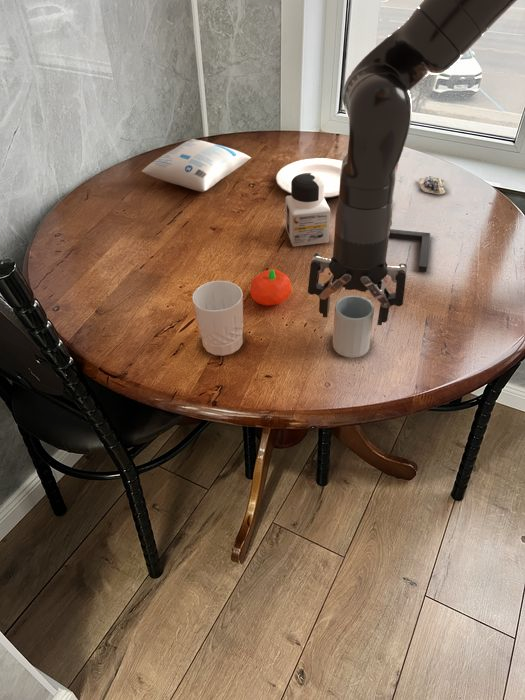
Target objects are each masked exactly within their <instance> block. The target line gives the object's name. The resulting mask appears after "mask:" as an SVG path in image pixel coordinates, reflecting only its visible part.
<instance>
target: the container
mask: <svg viewBox="0 0 525 700" xmlns="http://www.w3.org/2000/svg"><path fill="white" fill-rule="evenodd" d="M324 184H325V181H324V179H323V178H322V177H321V176H320V175H317V174H313V173H303V174H299V175H297V176H295V177H294V178H293V179H292V181H291V194H290V195H287V196H285V230H286V232H287V234H288V235H287V236H288V238H289V240H290V243H291V245H292V247H294V248H295V247H303V246H309V245H310V246H311V245H319V244H327V243H329V242H330V223H331V208H330V206H329V204H328V203H327V201H326V198H324Z"/></svg>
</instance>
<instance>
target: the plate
mask: <svg viewBox="0 0 525 700" xmlns="http://www.w3.org/2000/svg"><path fill="white" fill-rule="evenodd" d="M342 162H343V160H338V159H333V158H332V159H331V158H323V157H321V158H318V157H317V158H316V157H315V158H306V159H305V158H304V159H300V160H296V161H293V162H291V163H288V164H286V165H285V166H283V167H282V168H280V170H279V171H278V172H277V173H276V176H275V181H276V183H277V186H278V187H279V188H280V189H281V190H283V191H285V192H286V193H288V194H290V195H291V181H292V179H293V178H294V177H295V176H297V175H299V174H303V173H313V174H317V175H320V176H321V177H322V178H323V179H324V181H325V184H324V199H332V198H338V197H339V188H340V175H341V166H342Z"/></svg>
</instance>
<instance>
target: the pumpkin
mask: <svg viewBox="0 0 525 700" xmlns="http://www.w3.org/2000/svg"><path fill="white" fill-rule="evenodd" d="M249 294H250V296H251V298H252V300H253V301H254V302H256V303H257V304H259V305H261V306H262V305H263V306H275V305H278V304H281V303H284V302H285V301H286V300H287V299H288V298H289V297H290V295H291V294H292V284H291V279H290V278H289V277H288V275H287V274H286V273H284V272H282V271H281V270H278V269H276V268H271V269H267V270H265V271H263V272H261V273H259V274H258V275H256V276H254V277H253V278H252V280H251V282H250V286H249Z"/></svg>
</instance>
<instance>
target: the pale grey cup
mask: <svg viewBox="0 0 525 700" xmlns="http://www.w3.org/2000/svg"><path fill="white" fill-rule="evenodd" d="M375 309H376V308H375V305H374V303H373V302H372V301H371V300H370V299H368V298H367V297H364V296H361V295H354V294H353V295H345V296H343V297H341V298H339V299H338V300H337V301H336V302H335V305H334V314H333V330H332V348H333V350H334V351H335V352H336V353H337V354H339V355H341V356H342V357H345V358H350V359H351V358H359V357H363V356H364V355H366V354H367V353H368V352H369V350H370V346H371V338H372V330H373V324H374V315H375Z"/></svg>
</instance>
